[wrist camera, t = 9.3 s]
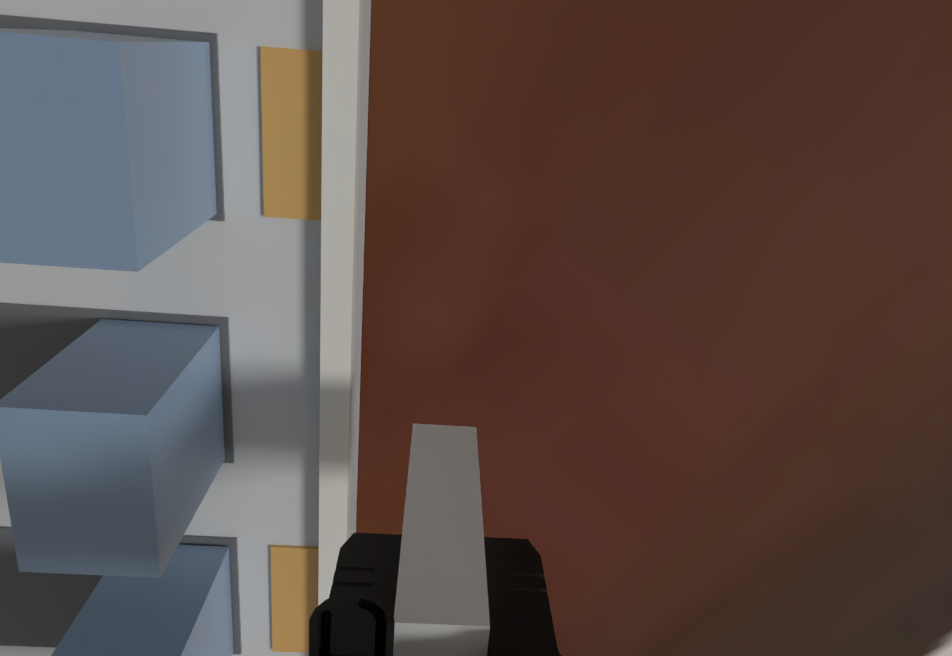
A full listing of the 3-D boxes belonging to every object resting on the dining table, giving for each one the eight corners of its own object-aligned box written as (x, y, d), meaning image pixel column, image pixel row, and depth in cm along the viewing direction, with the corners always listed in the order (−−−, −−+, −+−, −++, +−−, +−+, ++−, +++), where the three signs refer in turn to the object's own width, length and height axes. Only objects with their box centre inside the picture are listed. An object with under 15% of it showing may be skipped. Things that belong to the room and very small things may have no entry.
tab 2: (102, 318, 19) (-10, 406, 15) (219, 326, 20) (146, 415, 15) (115, 452, 21) (18, 571, 16) (224, 458, 21) (160, 578, 16)
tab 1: (74, 30, 17) (-68, 26, 12) (209, 41, 17) (118, 41, 12) (92, 204, 18) (-30, 260, 14) (216, 214, 18) (137, 272, 14)
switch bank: (-357, -123, 17) (-487, -149, 15) (372, -54, 18) (361, -69, 16) (-146, 644, 26) (-208, 707, 23) (352, 663, 27) (342, 725, 24)
